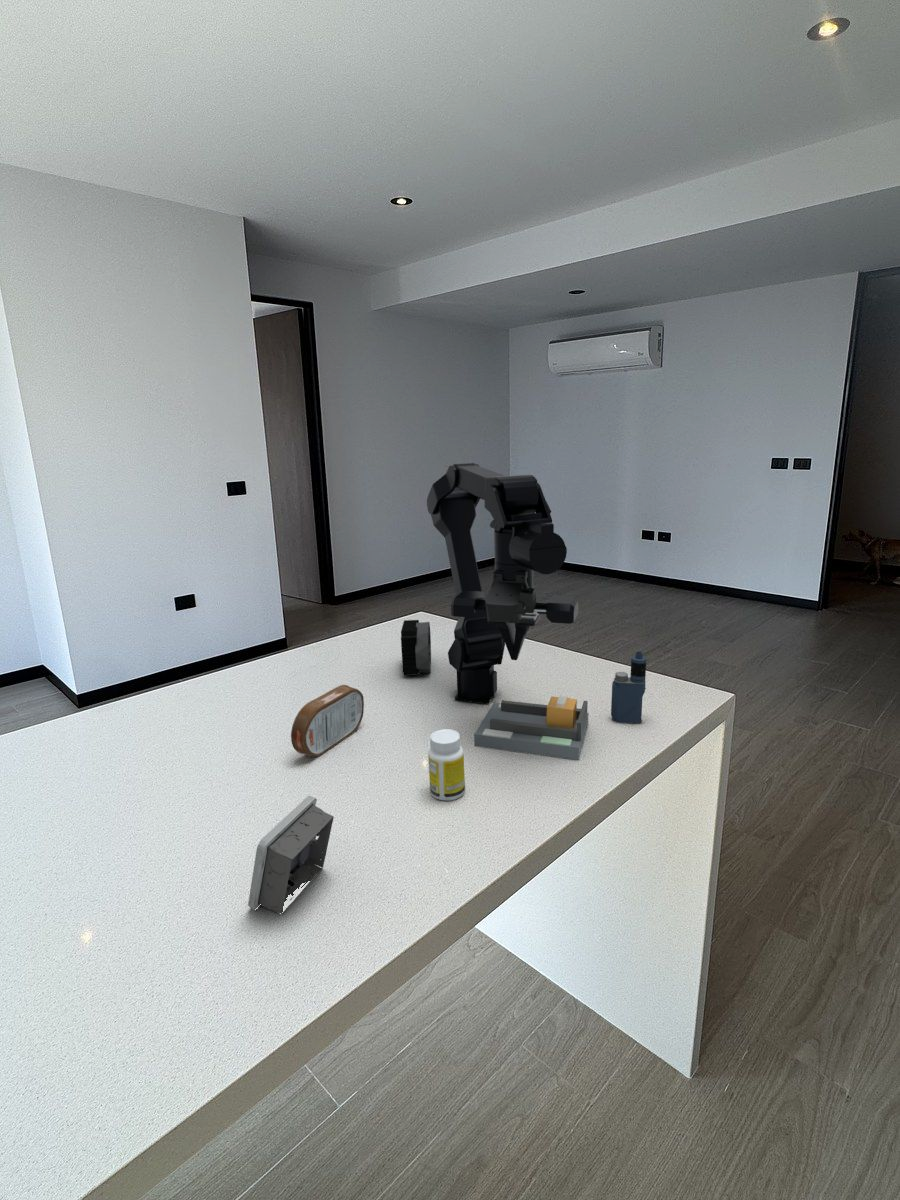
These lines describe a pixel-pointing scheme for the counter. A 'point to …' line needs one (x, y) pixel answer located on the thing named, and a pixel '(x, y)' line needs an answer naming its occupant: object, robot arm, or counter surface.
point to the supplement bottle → (446, 765)
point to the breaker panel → (530, 730)
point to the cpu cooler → (416, 647)
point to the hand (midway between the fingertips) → (514, 659)
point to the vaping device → (629, 692)
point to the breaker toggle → (562, 711)
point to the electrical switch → (290, 855)
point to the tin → (327, 720)
